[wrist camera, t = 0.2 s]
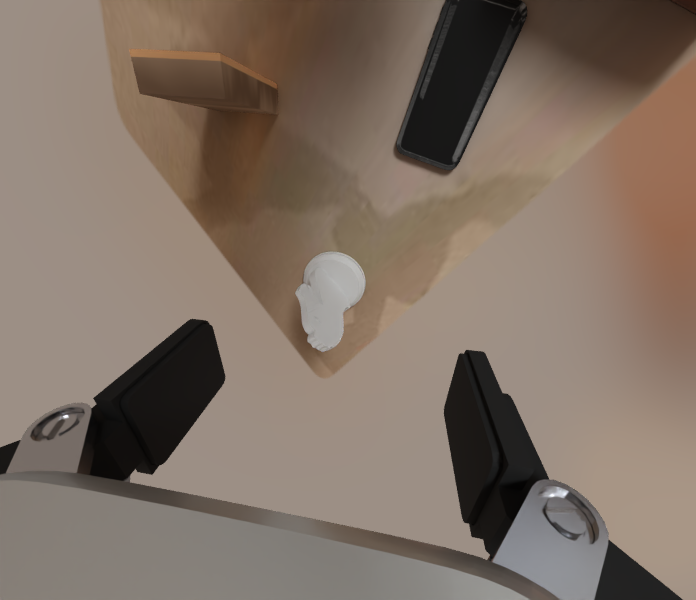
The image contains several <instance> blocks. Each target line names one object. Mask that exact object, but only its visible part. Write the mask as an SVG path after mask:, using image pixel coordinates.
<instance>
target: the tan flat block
mask: <svg viewBox="0 0 696 600" xmlns="http://www.w3.org/2000/svg"><path fill="white" fill-rule="evenodd" d="M129 51H130V55H131V59H132V63H133V67H134V71H135V75H136V79H137V84H138V88H139V92H140V94H144V95H148V96H153V97H158V98H162V99H167V100H171V101H176V102H181V103H185V104H190V105H194V106H199V107H204V108H208V109H213V110H218V111H232V112H247V113H261V114H276V115H278V93H277V84H276V83H274V82H272V81H271V80H269V79H267V78H265V77H263V76H261V75H259V74H258V73H256V72H254V71H252V70H250V69H248V68H247V67H245V66H243V65H241V64H239V63H237V62H236V61H234V60H232V59H230V58H228V57H226V56H225V55H223V54H221V53H211V52H189V51H167V50H145V49H129Z"/></svg>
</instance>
